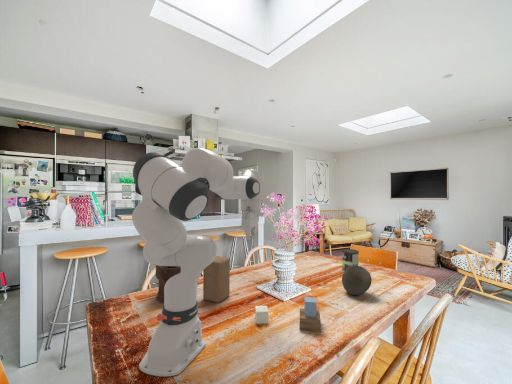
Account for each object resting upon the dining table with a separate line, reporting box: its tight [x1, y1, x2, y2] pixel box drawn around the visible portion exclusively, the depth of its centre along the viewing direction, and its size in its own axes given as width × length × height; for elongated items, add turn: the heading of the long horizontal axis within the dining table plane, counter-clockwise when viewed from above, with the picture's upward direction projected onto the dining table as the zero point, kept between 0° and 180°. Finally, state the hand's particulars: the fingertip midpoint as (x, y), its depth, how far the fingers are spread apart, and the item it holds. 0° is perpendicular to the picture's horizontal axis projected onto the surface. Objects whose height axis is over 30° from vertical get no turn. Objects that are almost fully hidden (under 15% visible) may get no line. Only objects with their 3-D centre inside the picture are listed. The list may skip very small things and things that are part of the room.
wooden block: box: [202, 255, 231, 304], centre depth 122 cm, size 10×10×20 cm
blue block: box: [303, 296, 317, 318], centre depth 98 cm, size 4×4×6 cm
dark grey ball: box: [341, 264, 372, 296], centre depth 128 cm, size 14×14×15 cm
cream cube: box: [254, 305, 269, 325], centre depth 102 cm, size 5×5×5 cm
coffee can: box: [341, 248, 360, 273], centre depth 163 cm, size 10×10×14 cm
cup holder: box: [155, 265, 181, 305], centre depth 122 cm, size 18×24×25 cm
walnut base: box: [299, 307, 322, 333], centre depth 98 cm, size 8×8×5 cm
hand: (250, 237), depth 107 cm, fingers open, 8 cm apart
